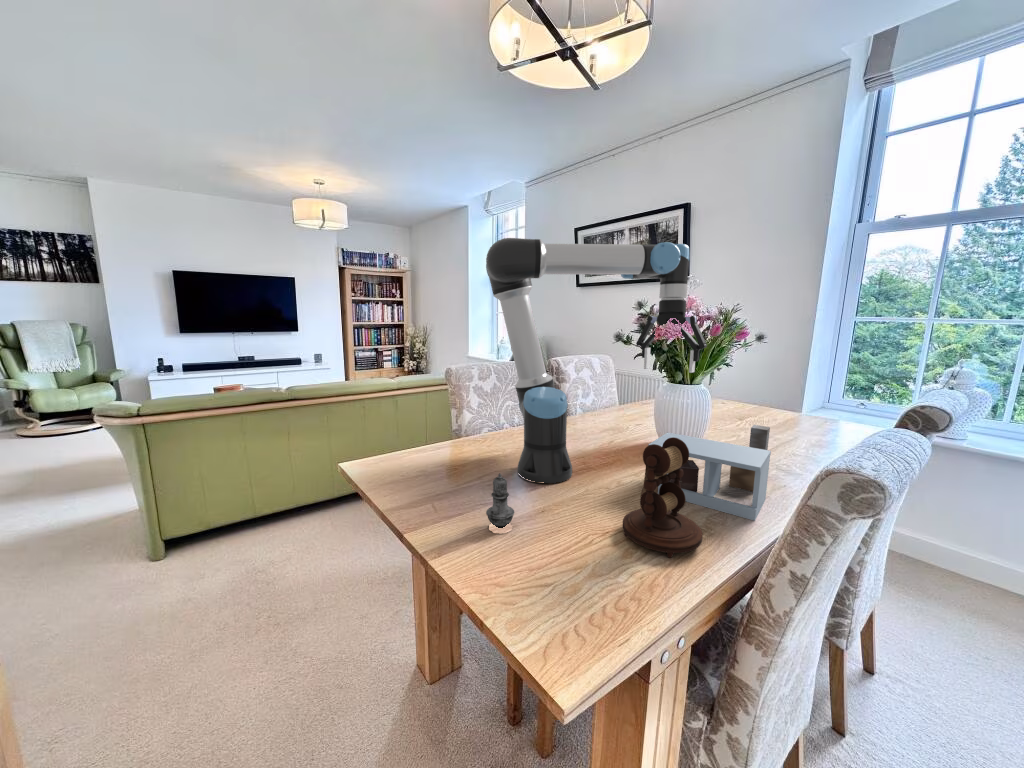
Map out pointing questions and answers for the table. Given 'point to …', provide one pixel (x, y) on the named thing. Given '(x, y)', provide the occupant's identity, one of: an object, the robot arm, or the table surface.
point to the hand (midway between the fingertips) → (668, 370)
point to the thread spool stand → (663, 503)
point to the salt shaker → (500, 504)
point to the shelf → (714, 459)
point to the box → (689, 476)
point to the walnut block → (744, 476)
